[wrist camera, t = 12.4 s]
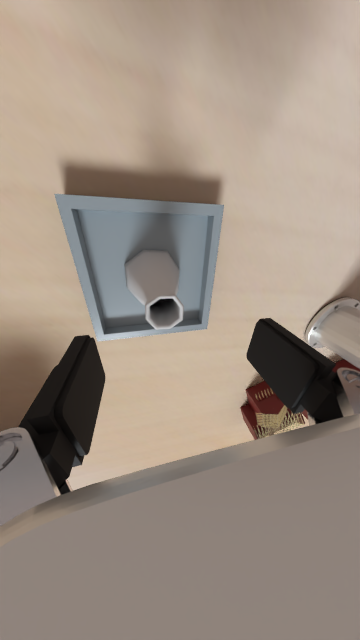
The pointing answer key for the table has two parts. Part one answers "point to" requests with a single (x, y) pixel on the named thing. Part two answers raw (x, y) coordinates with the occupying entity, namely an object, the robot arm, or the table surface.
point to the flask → (156, 287)
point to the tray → (126, 242)
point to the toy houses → (273, 409)
